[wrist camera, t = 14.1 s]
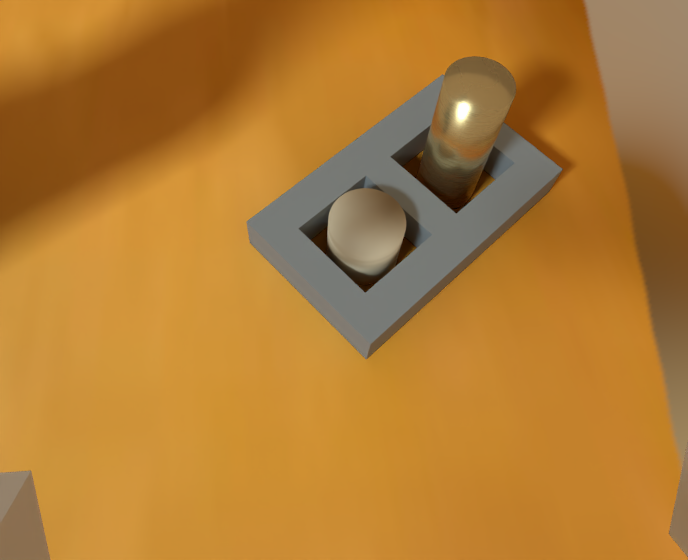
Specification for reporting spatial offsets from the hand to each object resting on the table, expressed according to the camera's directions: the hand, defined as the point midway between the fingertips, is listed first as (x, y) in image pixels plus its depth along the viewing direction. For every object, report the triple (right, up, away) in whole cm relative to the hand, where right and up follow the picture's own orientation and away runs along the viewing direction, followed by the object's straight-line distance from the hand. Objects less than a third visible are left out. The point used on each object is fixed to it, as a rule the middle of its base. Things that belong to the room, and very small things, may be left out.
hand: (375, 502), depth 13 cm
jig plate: (+4, +9, +35) cm, 36 cm away
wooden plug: (+1, +7, +33) cm, 34 cm away
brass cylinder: (+7, +12, +36) cm, 39 cm away
